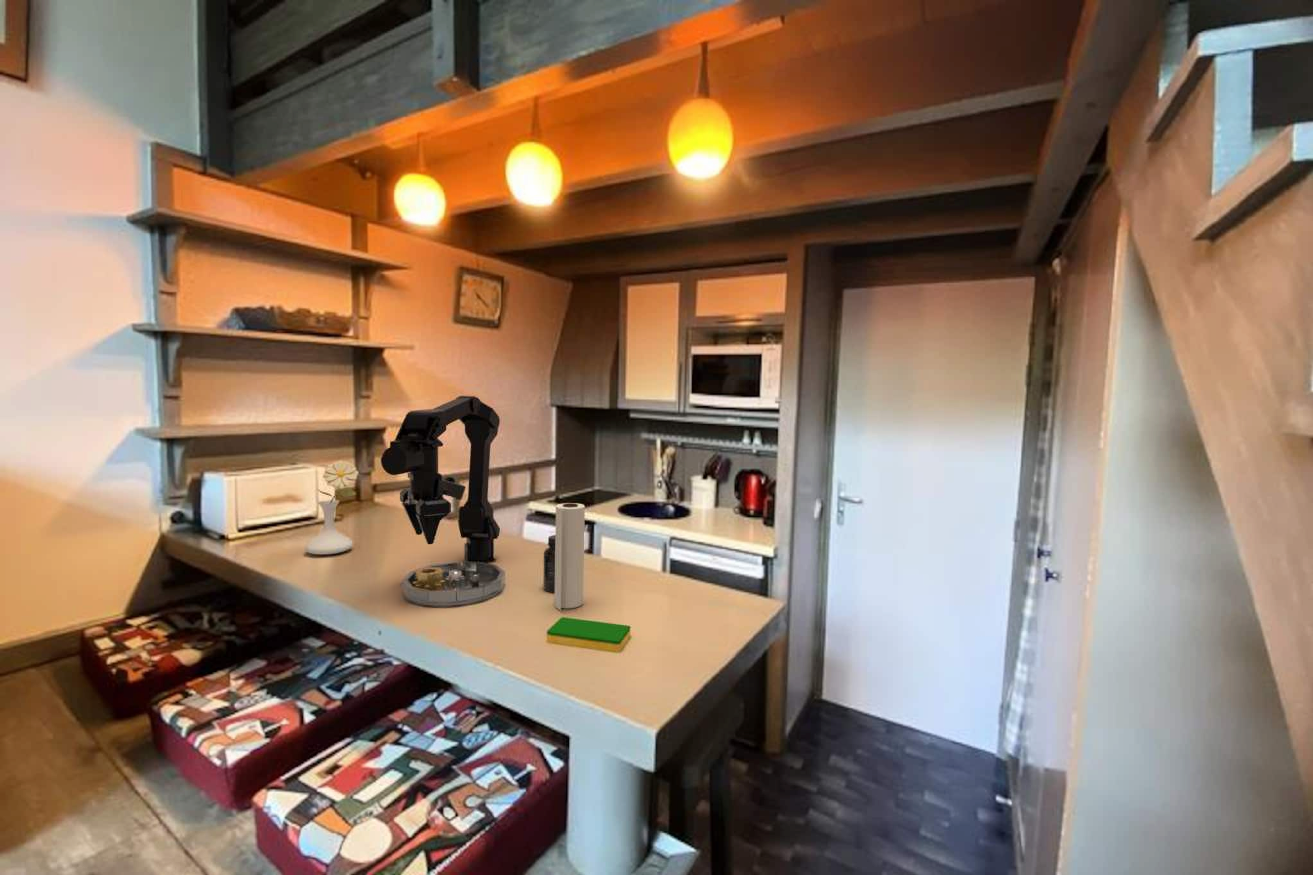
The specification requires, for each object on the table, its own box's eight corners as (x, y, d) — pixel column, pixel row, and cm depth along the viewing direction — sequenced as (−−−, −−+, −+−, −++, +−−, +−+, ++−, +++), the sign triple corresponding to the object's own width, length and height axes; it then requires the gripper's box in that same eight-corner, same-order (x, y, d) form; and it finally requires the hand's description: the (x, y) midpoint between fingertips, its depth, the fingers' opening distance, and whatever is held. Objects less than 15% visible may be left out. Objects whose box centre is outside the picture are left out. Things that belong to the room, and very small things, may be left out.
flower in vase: (297, 558, 145) (295, 462, 143) (314, 546, 156) (313, 457, 154) (352, 557, 147) (351, 463, 145) (365, 545, 158) (364, 458, 156)
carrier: (485, 569, 140) (485, 552, 140) (517, 595, 123) (518, 575, 123) (394, 584, 128) (394, 565, 127) (416, 615, 111) (416, 593, 111)
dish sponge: (619, 654, 98) (619, 641, 97) (545, 644, 101) (546, 631, 101) (630, 637, 104) (631, 625, 104) (561, 628, 108) (561, 616, 107)
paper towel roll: (571, 596, 123) (573, 501, 122) (588, 604, 119) (590, 505, 117) (543, 604, 118) (545, 504, 117) (560, 613, 114) (562, 509, 112)
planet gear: (410, 587, 123) (410, 569, 123) (439, 582, 127) (439, 564, 126) (417, 596, 118) (417, 577, 117) (448, 590, 122) (448, 572, 121)
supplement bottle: (579, 588, 129) (580, 537, 128) (555, 595, 124) (556, 542, 123) (561, 581, 133) (561, 531, 132) (537, 587, 128) (537, 536, 127)
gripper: (475, 472, 119) (475, 543, 120) (449, 461, 134) (449, 525, 135) (420, 475, 112) (421, 551, 114) (399, 464, 127) (399, 531, 129)
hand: (424, 539), depth 123 cm, fingers open, 9 cm apart
